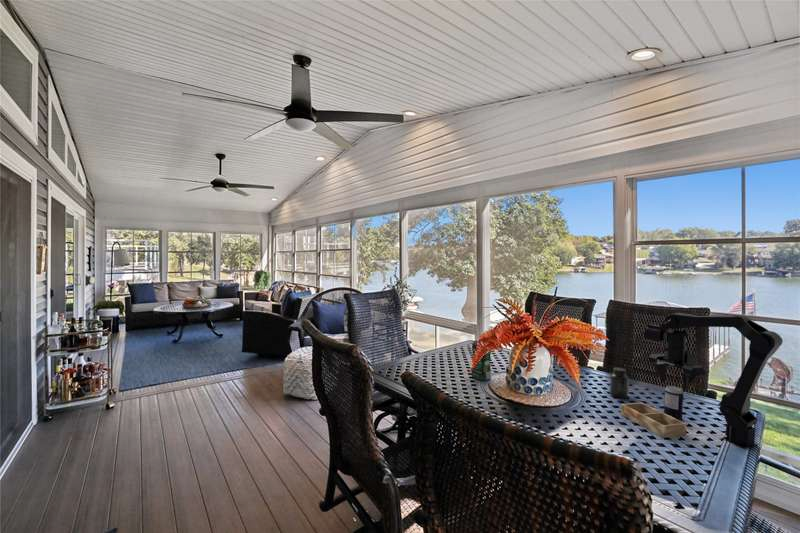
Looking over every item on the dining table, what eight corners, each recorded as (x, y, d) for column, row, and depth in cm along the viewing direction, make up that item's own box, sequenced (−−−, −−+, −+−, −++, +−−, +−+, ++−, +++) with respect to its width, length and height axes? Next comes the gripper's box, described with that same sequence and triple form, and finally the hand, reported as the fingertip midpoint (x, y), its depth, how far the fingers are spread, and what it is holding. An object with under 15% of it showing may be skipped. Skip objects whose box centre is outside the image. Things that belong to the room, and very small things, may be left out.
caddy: (686, 434, 128) (687, 423, 128) (662, 437, 126) (663, 426, 126) (641, 412, 146) (642, 402, 146) (620, 414, 144) (620, 404, 144)
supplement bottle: (608, 391, 167) (609, 365, 166) (625, 393, 164) (626, 367, 164) (611, 397, 160) (612, 370, 160) (629, 399, 158) (630, 372, 157)
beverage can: (685, 422, 137) (686, 391, 137) (668, 421, 138) (669, 390, 138) (677, 416, 143) (678, 386, 142) (660, 414, 144) (662, 384, 143)
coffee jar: (468, 376, 186) (469, 340, 185) (480, 373, 190) (480, 338, 189) (481, 382, 177) (482, 344, 176) (493, 379, 181) (494, 342, 180)
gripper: (718, 351, 132) (716, 393, 132) (670, 339, 150) (669, 376, 151) (693, 353, 130) (692, 396, 130) (647, 340, 148) (646, 378, 148)
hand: (674, 386), depth 140 cm, fingers open, 9 cm apart
